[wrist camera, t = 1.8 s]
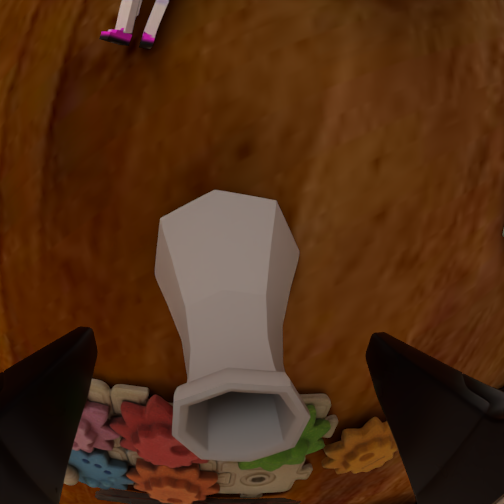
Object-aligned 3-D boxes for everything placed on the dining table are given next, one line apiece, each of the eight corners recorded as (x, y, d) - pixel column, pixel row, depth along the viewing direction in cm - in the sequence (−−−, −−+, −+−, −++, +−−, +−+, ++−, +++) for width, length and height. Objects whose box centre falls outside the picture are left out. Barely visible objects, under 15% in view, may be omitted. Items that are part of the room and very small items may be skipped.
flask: (302, 311, 17) (370, 465, 8) (172, 330, 17) (146, 495, 7) (292, 178, 14) (413, 256, 5) (139, 201, 14) (25, 313, 5)
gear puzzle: (432, 374, 20) (457, 407, 17) (364, 477, 26) (374, 505, 22) (15, 353, 16) (-10, 390, 12) (70, 469, 22) (62, 499, 18)
